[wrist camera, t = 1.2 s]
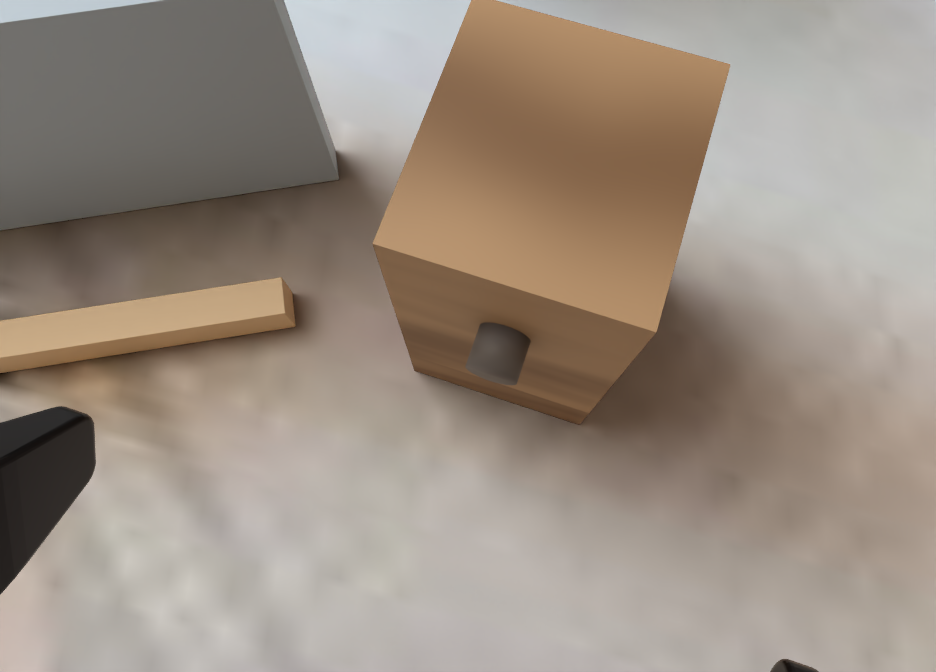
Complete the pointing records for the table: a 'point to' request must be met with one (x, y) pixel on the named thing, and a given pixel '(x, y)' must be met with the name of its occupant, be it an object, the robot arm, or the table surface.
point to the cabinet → (545, 206)
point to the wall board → (150, 147)
